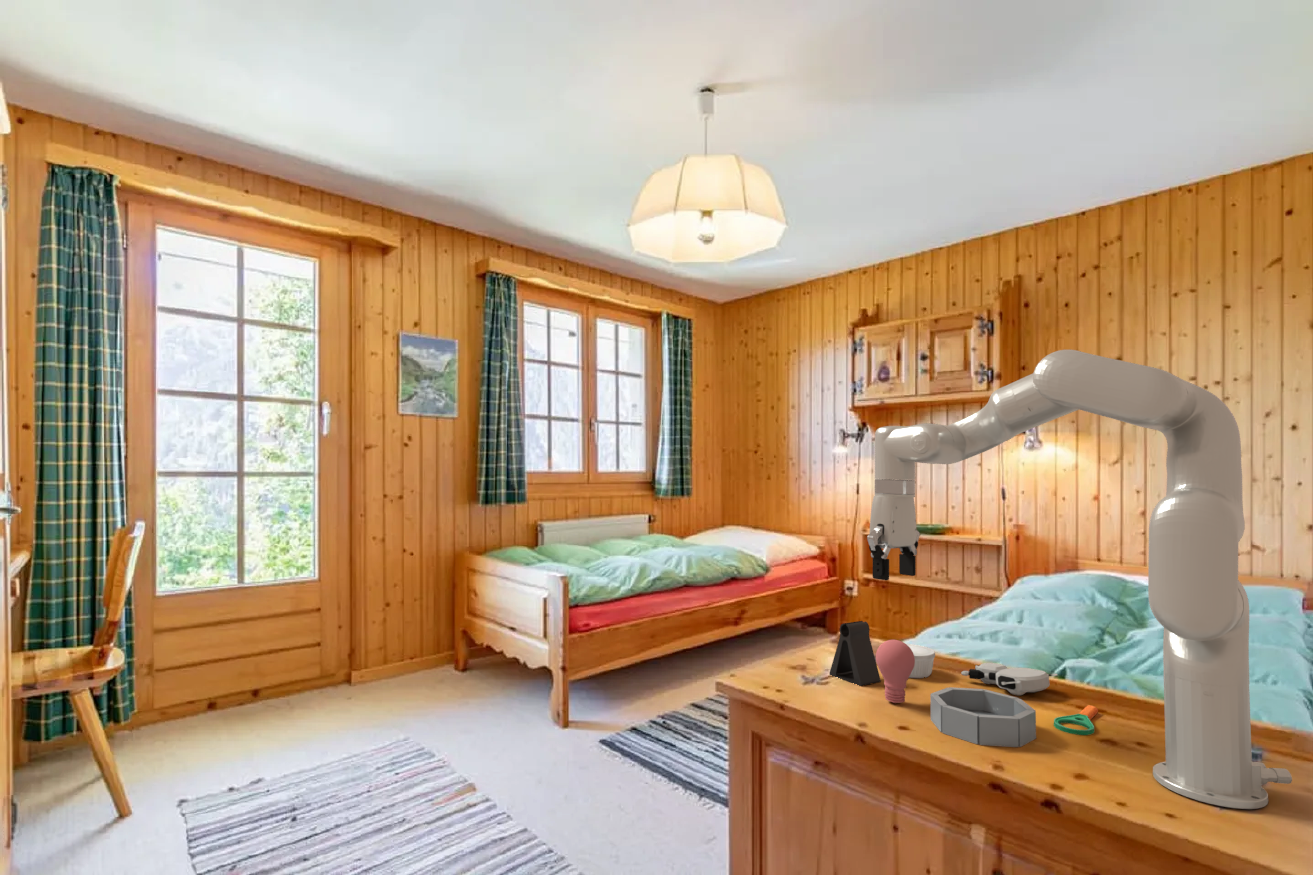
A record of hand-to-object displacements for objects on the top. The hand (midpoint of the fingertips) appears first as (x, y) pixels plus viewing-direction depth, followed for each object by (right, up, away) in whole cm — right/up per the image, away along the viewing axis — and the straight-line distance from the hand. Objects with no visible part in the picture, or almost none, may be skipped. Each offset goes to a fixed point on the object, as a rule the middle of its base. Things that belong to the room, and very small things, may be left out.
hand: (894, 577), depth 130 cm
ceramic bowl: (+10, -24, -14) cm, 29 cm away
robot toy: (+27, -26, +9) cm, 38 cm away
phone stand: (-4, -25, +14) cm, 29 cm away
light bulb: (0, -24, -1) cm, 24 cm away
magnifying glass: (+30, -25, -10) cm, 40 cm away
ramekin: (+10, -26, +19) cm, 34 cm away
